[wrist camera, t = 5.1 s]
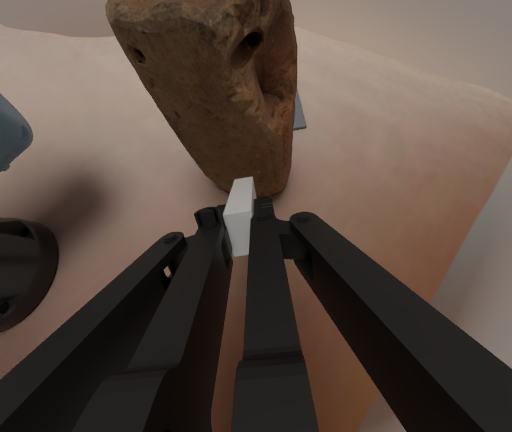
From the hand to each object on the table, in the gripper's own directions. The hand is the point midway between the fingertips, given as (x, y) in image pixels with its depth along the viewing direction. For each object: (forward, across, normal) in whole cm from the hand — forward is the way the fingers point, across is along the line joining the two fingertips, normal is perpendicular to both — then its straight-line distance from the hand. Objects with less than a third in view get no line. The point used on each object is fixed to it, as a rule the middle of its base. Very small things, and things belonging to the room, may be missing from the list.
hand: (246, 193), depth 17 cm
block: (+13, 0, -2) cm, 13 cm away
